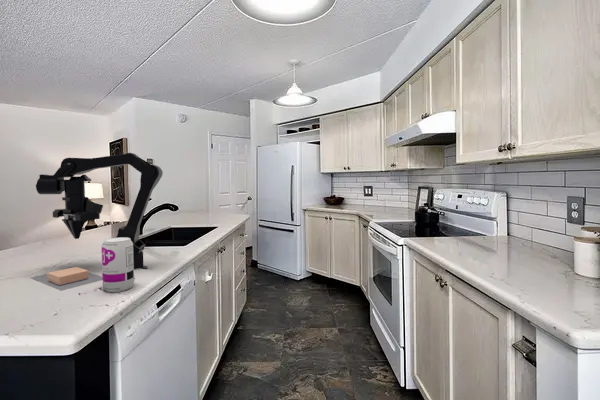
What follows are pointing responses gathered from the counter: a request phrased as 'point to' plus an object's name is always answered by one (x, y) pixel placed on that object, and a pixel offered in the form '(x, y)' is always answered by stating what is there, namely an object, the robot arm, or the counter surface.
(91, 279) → the mat
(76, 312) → the counter surface
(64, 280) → the tile
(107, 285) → the supplement can
